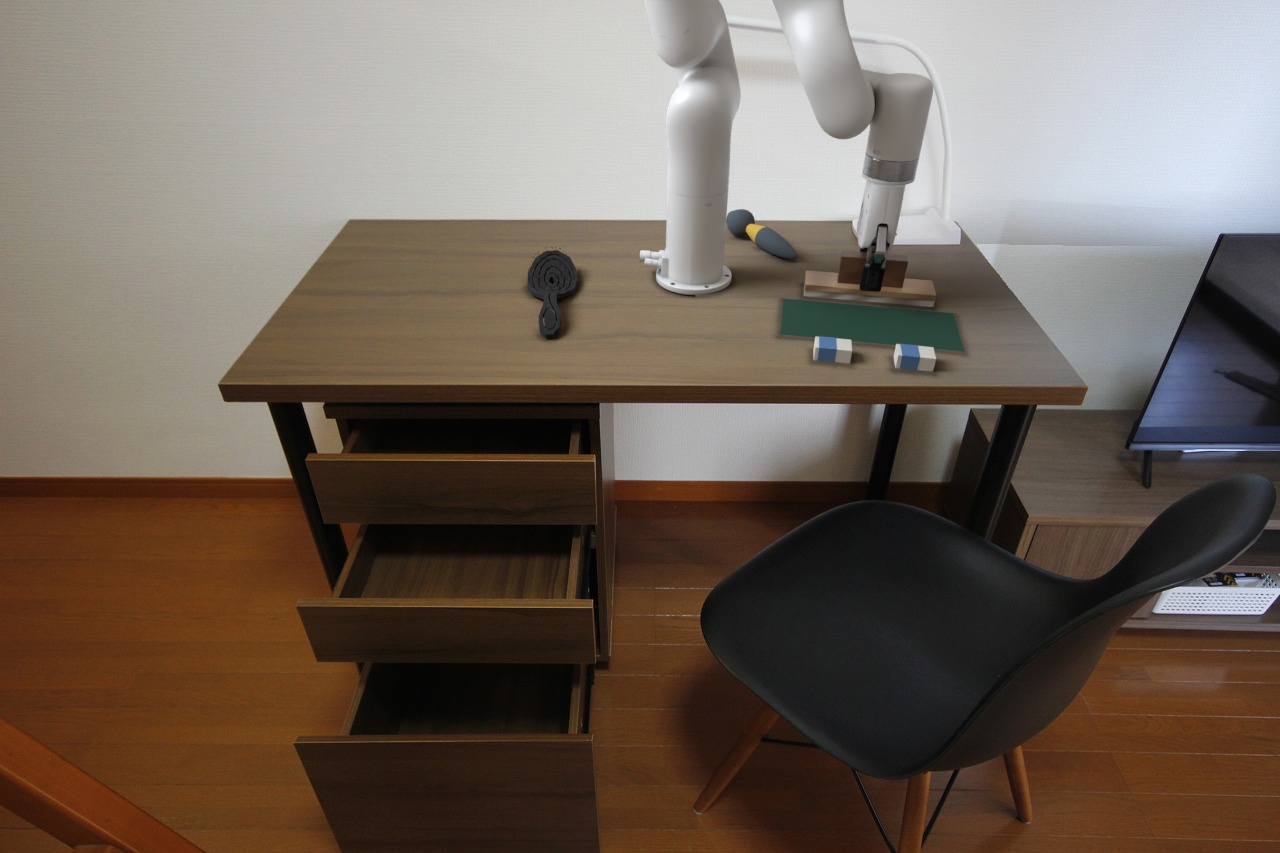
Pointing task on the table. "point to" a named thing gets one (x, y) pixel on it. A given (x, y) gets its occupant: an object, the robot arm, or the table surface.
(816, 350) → the eraser left
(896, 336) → the desk mat
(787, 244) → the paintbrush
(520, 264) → the table surface
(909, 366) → the eraser right
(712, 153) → the robot arm
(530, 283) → the hairbrush
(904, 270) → the scrub brush
